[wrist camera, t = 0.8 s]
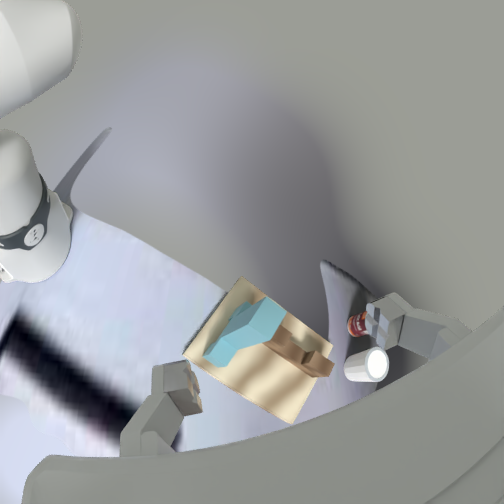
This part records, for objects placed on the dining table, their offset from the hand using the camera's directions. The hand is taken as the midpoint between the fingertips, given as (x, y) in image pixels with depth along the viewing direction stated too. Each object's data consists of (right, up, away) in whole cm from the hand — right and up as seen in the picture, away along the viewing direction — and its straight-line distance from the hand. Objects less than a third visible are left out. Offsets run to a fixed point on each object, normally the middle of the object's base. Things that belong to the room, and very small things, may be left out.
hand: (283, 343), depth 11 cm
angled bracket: (-5, -10, +32) cm, 34 cm away
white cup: (+20, -20, +40) cm, 49 cm away
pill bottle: (+20, -12, +44) cm, 50 cm away
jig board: (+1, -13, +35) cm, 37 cm away
